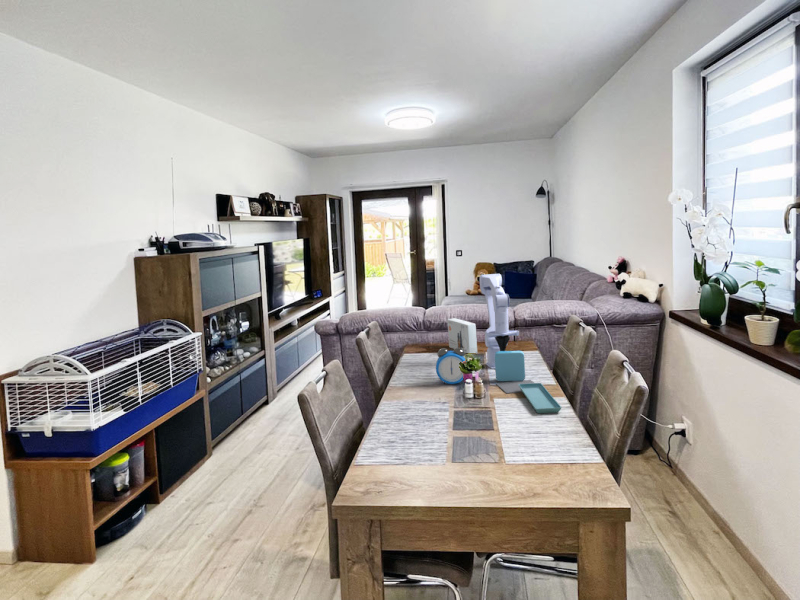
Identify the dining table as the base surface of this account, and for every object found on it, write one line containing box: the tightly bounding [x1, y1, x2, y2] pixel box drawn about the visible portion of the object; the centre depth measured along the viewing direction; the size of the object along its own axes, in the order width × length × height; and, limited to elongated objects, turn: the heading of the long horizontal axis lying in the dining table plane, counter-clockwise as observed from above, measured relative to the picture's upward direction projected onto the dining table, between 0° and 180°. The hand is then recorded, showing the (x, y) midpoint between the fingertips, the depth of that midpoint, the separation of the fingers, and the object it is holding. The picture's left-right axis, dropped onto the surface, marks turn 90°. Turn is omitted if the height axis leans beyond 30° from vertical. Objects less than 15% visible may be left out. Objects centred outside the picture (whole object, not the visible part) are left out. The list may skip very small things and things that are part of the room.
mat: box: [495, 379, 535, 395], centre depth 209 cm, size 13×15×1 cm
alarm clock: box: [435, 347, 466, 385], centre depth 219 cm, size 13×6×15 cm, turn 85°
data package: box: [494, 350, 526, 382], centre depth 218 cm, size 12×4×12 cm, turn 79°
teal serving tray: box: [518, 382, 562, 414], centre depth 191 cm, size 26×9×2 cm, turn 0°
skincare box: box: [446, 317, 478, 354], centre depth 275 cm, size 21×5×16 cm, turn 25°
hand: (502, 352), depth 226 cm, fingers closed
